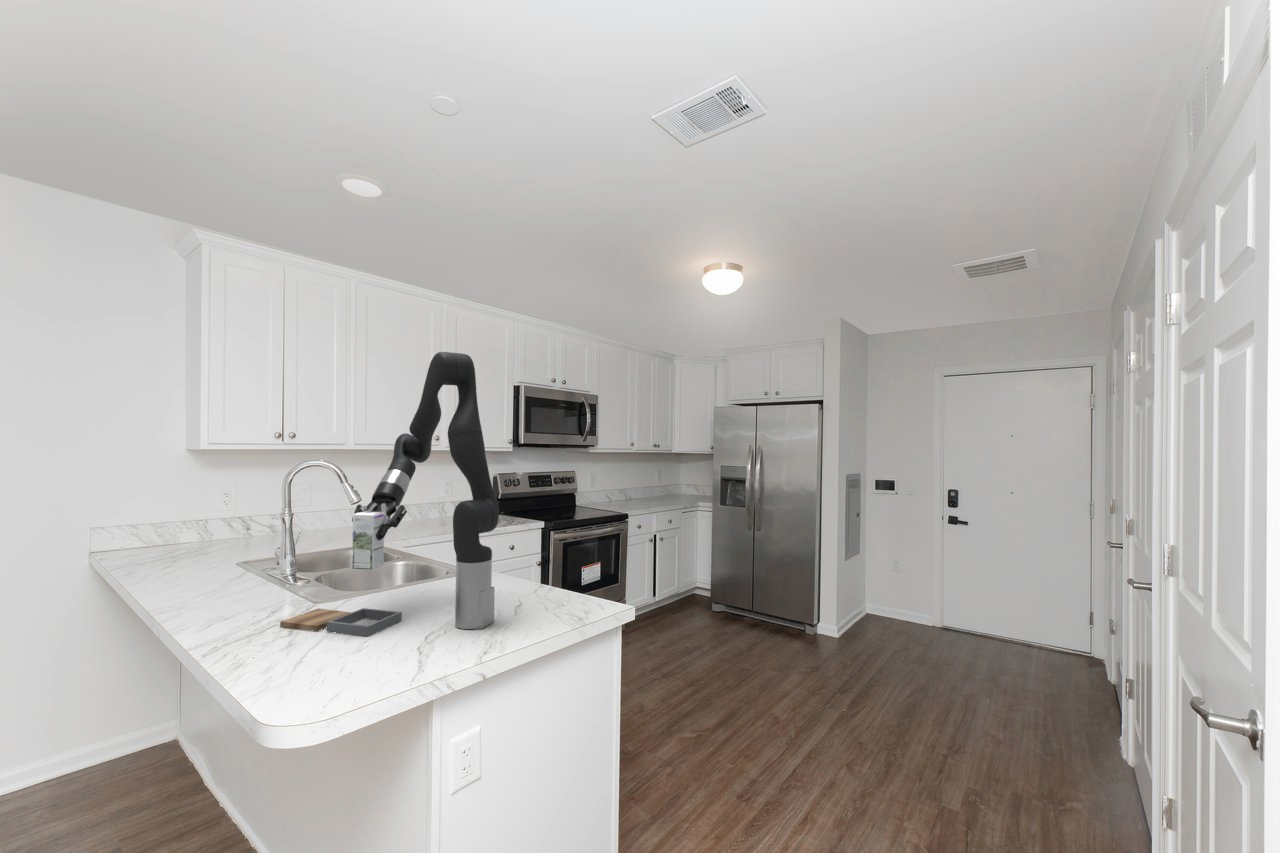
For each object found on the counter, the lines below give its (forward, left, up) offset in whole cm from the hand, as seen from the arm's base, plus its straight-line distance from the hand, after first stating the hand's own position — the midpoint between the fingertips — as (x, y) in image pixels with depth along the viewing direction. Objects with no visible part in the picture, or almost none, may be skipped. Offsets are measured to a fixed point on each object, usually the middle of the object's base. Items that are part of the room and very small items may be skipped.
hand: (367, 538), depth 148 cm
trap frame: (+1, -1, -23) cm, 23 cm away
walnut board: (+15, 0, -23) cm, 28 cm away
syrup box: (0, -1, -8) cm, 8 cm away
